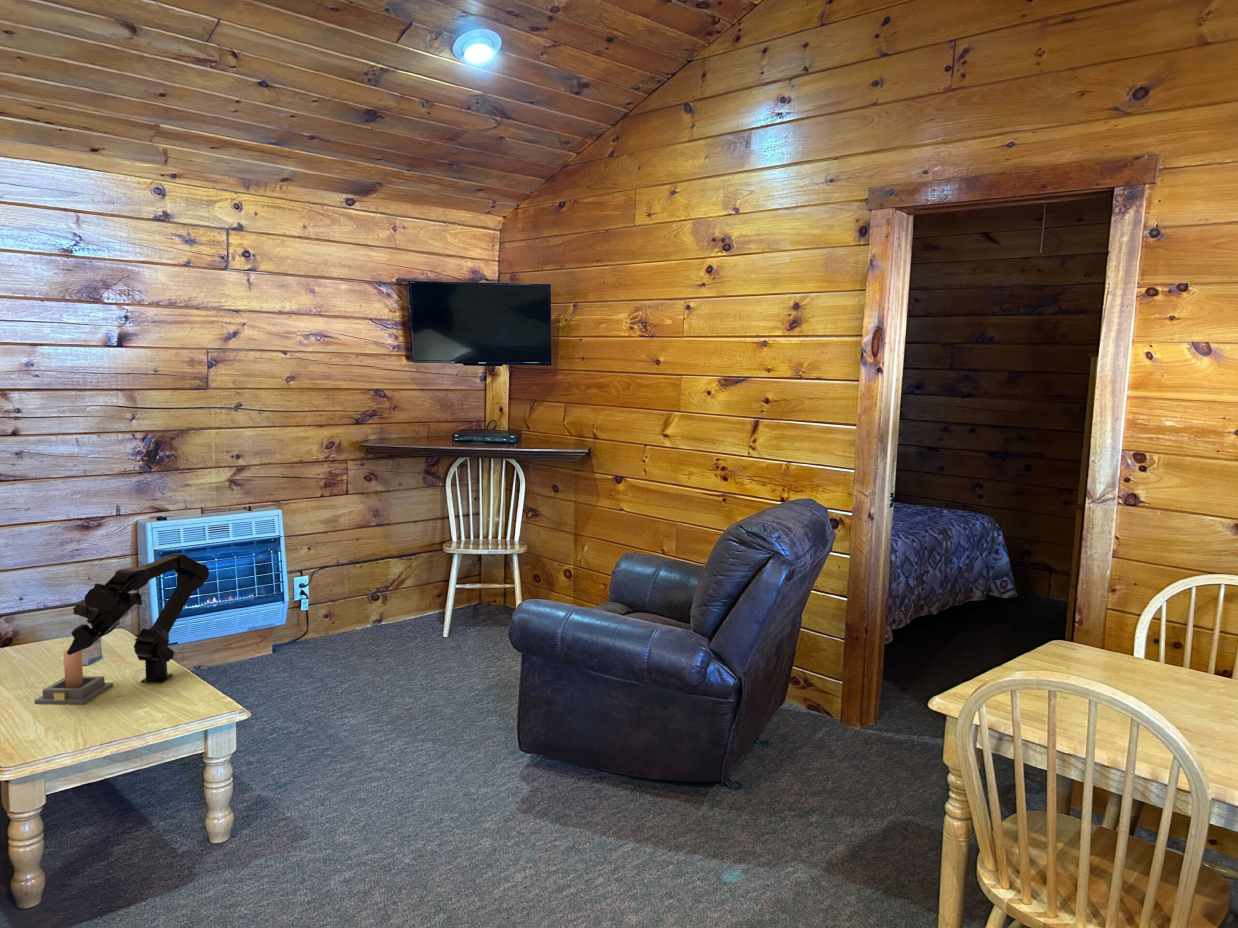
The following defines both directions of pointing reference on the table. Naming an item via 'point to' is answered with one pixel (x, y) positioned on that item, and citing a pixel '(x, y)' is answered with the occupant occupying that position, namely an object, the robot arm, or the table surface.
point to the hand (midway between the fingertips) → (75, 648)
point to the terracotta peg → (73, 670)
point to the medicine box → (92, 653)
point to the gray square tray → (74, 691)
